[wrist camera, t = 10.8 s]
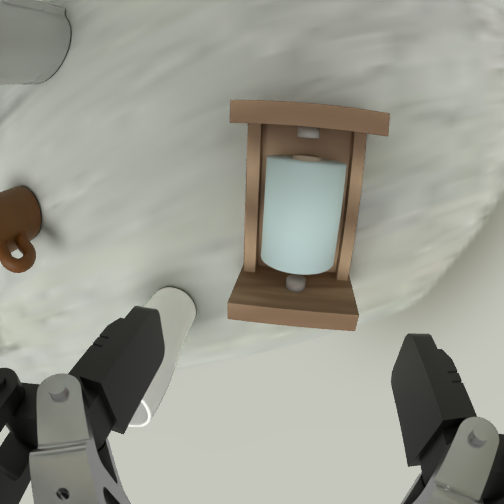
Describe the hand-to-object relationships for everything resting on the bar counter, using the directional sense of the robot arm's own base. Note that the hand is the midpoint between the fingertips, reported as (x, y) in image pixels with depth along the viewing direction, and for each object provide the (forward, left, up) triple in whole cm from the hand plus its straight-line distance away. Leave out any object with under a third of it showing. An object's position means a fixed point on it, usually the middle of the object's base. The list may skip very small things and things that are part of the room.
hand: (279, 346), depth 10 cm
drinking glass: (+13, -12, -20) cm, 27 cm away
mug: (+4, -32, -20) cm, 39 cm away
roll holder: (0, +1, -20) cm, 20 cm away
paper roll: (0, +1, -19) cm, 19 cm away
